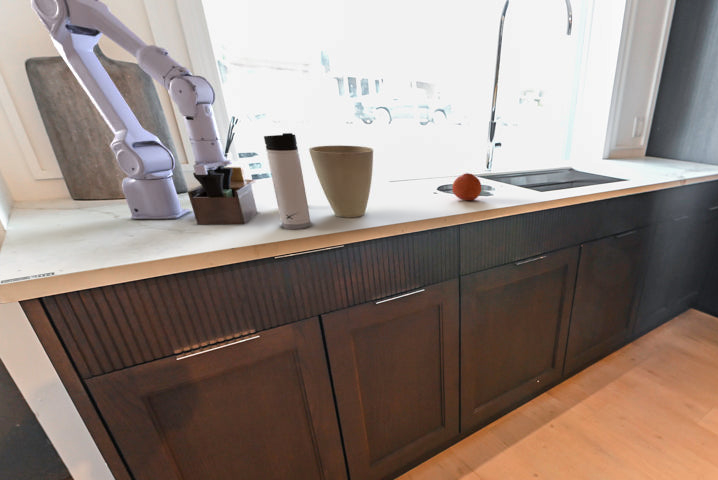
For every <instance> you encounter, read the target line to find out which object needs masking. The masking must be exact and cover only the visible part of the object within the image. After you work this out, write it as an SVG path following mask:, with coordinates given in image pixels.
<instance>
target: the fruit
mask: <svg viewBox="0 0 718 480" xmlns="http://www.w3.org/2000/svg"><path fill="white" fill-rule="evenodd" d="M451 190H452V193H453V195H455V196H456V197H457V199H460V200H462V201H475V200H476V199H477V198H478V197H479V196H480V194H481V193H482V183H481V180H480V178H478V177H477V176H476V175H474V174H473V173H469V172H466V173H463V174H462V175H459V176H457V178H455V180H454V181H453V183H452V186H451Z"/></svg>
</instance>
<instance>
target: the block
mask: <svg viewBox="0 0 718 480" xmlns="http://www.w3.org/2000/svg"><path fill="white" fill-rule="evenodd" d="M207 195H208V194H207ZM223 195H224V197H233V193H232V190H231V189H223ZM208 197H209V196H208Z"/></svg>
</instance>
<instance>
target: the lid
mask: <svg viewBox="0 0 718 480" xmlns="http://www.w3.org/2000/svg"><path fill="white" fill-rule="evenodd" d="M224 168H232V169H233V172H232V176H231V181H230V189H231V190H238V189H239V188H241V187H243V186H244V185H246V184H247V183H251V186H252V185H253V184H255V183H256V180H255V179H246V178H245V172H244V169H243V167H242V166H224Z"/></svg>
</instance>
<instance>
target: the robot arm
mask: <svg viewBox="0 0 718 480" xmlns="http://www.w3.org/2000/svg"><path fill="white" fill-rule="evenodd" d="M30 7H31V9H32V10H33V11H34V13H35V14H36V16H37V17H38V18H39V20H40V22H41V23H42V25H43V26H44V28H45V29H46V31H47V32H48V34H49V37H50V39H51V41H52V44H53V46H54V47H55V49H56V50H57V52H58V54H59V55H60V56H61V58H62V59H63V61H64V62H65V64H66V65H67V66H68V68H69V70H70V71H71V73H72V74H73V76H74V77H75V79H76V80H77V81H78V83H79V85H80V86H81V88H82V89H83V90H84V92H85V94H86V95H87V96H88V98H89V100H90V101H91V102H92V104H93V105H94V106H95V109H97V111H98V113H99V114H100V116H101V117H102V119H103V120H104V122H105V123H106V125H107V126H108V127H109V130H111V132H112V133H113V135H114V137H113V139H112V142H111V143H110V145H109V148H110V149H111V150H112V152H113V154H114V155H115V156H114V157H115V158H116V162H117V164H118V167H119V168H120V169H121V170H122V172H123V173H124V174H125V175H127V176H128V177H124V178H123V180H122V182H121V188H122V193H123V195H124V199H125V201H126V203H127V206H128V208H129V212H130V215H131V216H130V219H131V220H151V219H152V220H158V219H159V220H160V219H162V220H165V219H166V220H167V219H168V220H169V219H170V220H171V219H178V218H180V217H182V216H184V215H185V214H188V213H189V212H190V209H189V208H183V207H182V206H181V203H180V199H179V196H178V193H177V190H176V186H175V183H174V180H173V177H172V176H174V173H173V171H174V170H175V167H176V159H175V157H174V155H173V153H172V152H171V150H169V148H168V147H166V146H165V145H164V144H163V143H162V142H161V140H160V139H159V137H158V136H156V135H155V134H153V133H152V132H149V131H148V130H146V129H144V128H143V126H142V124H140V122H139V120H138V119H137V117H136V116H135V114H134V113H133V111H132V109H131V108H130V106H129V105H128V103H127V102H126V100H125V98H124V96H123V95H122V94H121V92H120V91H119V89H118V88H117V86H116V85H115V83H114V81H113V79H111V77H110V75H109V74H108V72H107V71H106V69H105V68H104V66H103V64H102V63H101V62H100V60H99V59H98V57H97V55H96V54H95V52H94V48H95V46H97V45H98V44H99V41H100V40H101V37H102V36H103V35H104V36H105V37H107V38H108V39H109V40H111V41H112V42H114V43H115V44H116V45H118V46H119V47H121V48H122V50H124V51H126V52H128V53H129V54H130V55H132V56H133V57H134V58H136V61H137V66H138V67H139V68H140V69H141V70H142V71H144V73H146V74H147V75H148V76H150V77H151V78H152V79H153V80H155V81H156V82H157V83H158V84H160V85H161V86H162V87H164V89H166V90H167V92H168V95H169V96H170V98H171V100H172V101H173V102H174V103H175V104H176V106H177V108H178V111H179V113H180V114H181V115H182V118H183V121H184V126H185V128H186V132H187V136H188V139H189V143H190V146H191V150H192V153H193V156H194V164H193V170H194V172H193V173H192V175H193V177H194V178H195V179H196V181H197V182H198V183H199V184H200V185H202V186H203V188H204V189H205V191H206V193H207V194H208V196H209V197H224V195H223V189H230V181H231V176H232V172H233V169H232V168H224V167H228V166H230V165H232V164H233V162H232V160H229V159H228V158H227V156H225V154H224V149H223V145H222V141H221V137H220V133H219V130H218V125H217V121H216V117H215V114H214V110H213V105H214V103H215V101H216V93H215V88H213V86H212V85H211V83H210V82H209V81H208V80H207V78H206V77H204V76H202V75H194V74H192V73H191V72H190V71H191V70H190V69H189V68H188V67H186V66H183V65H181V64H180V63H179V62H178V61H176V60H175V59H174V58H173V57H171V56H170V55H169V53H170V52H169V50H167V49H166V48H165V47H161V46H160V47H159V46H157V45H155V44H149V45H148V44H147V43H146V42H145V41H144V40H142V39H141V38H140V37H139V36H138V35H137V34H135V32H133V31H132V29H130V28H129V27H128V26H126V25H125V24H124V23H123V22H122V21H121V20H120V19H119V18H118V17H116V15H114V14H113V13H112V12H111V10H110V7H109V6H108V5H107V4H105V2H102V1H100V0H30Z"/></svg>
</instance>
